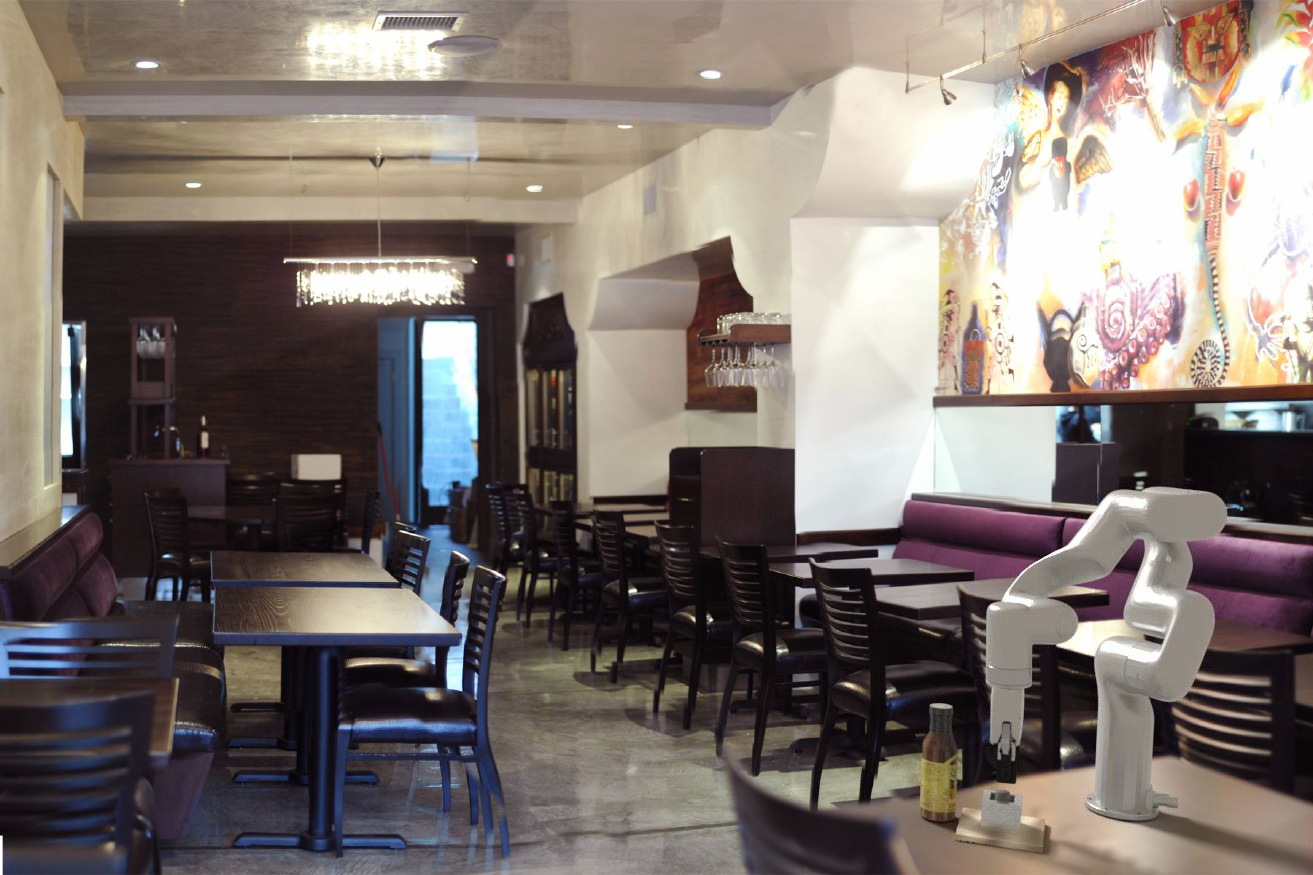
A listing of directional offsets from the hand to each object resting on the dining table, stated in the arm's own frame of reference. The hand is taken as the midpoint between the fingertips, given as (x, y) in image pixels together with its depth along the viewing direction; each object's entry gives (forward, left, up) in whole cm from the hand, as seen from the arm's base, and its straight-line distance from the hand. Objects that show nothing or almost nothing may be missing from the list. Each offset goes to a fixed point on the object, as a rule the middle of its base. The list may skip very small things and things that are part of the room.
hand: (1007, 773), depth 207 cm
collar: (+1, +1, -9) cm, 9 cm away
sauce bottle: (+12, -2, -10) cm, 16 cm away
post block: (+1, +1, -10) cm, 10 cm away
